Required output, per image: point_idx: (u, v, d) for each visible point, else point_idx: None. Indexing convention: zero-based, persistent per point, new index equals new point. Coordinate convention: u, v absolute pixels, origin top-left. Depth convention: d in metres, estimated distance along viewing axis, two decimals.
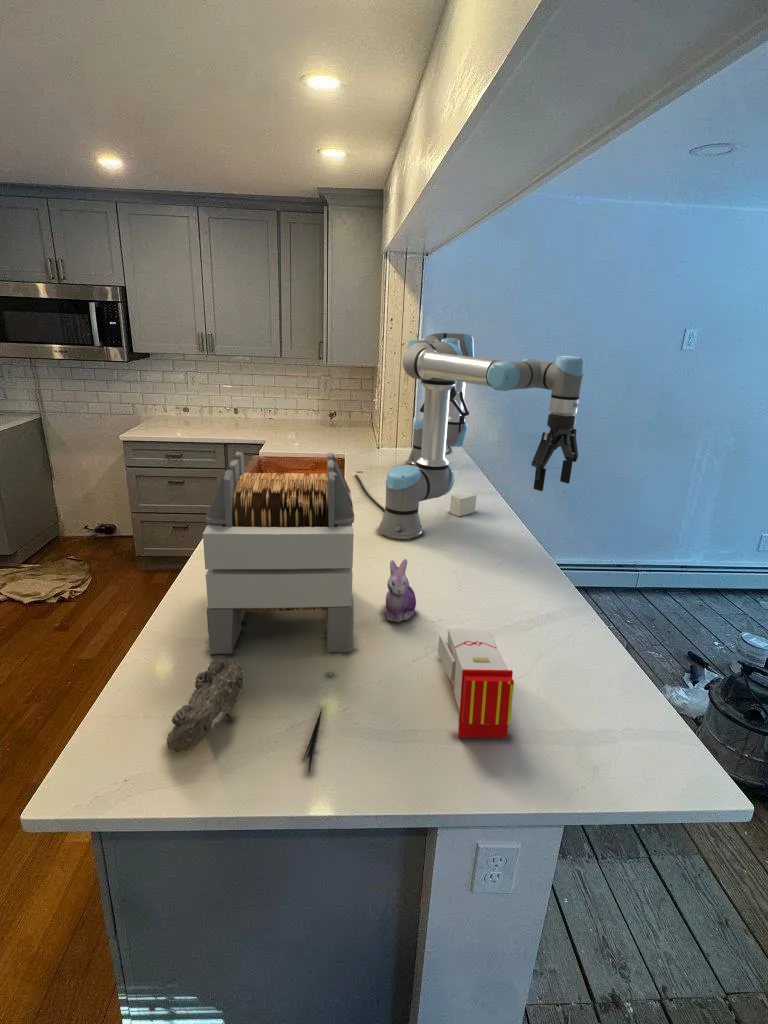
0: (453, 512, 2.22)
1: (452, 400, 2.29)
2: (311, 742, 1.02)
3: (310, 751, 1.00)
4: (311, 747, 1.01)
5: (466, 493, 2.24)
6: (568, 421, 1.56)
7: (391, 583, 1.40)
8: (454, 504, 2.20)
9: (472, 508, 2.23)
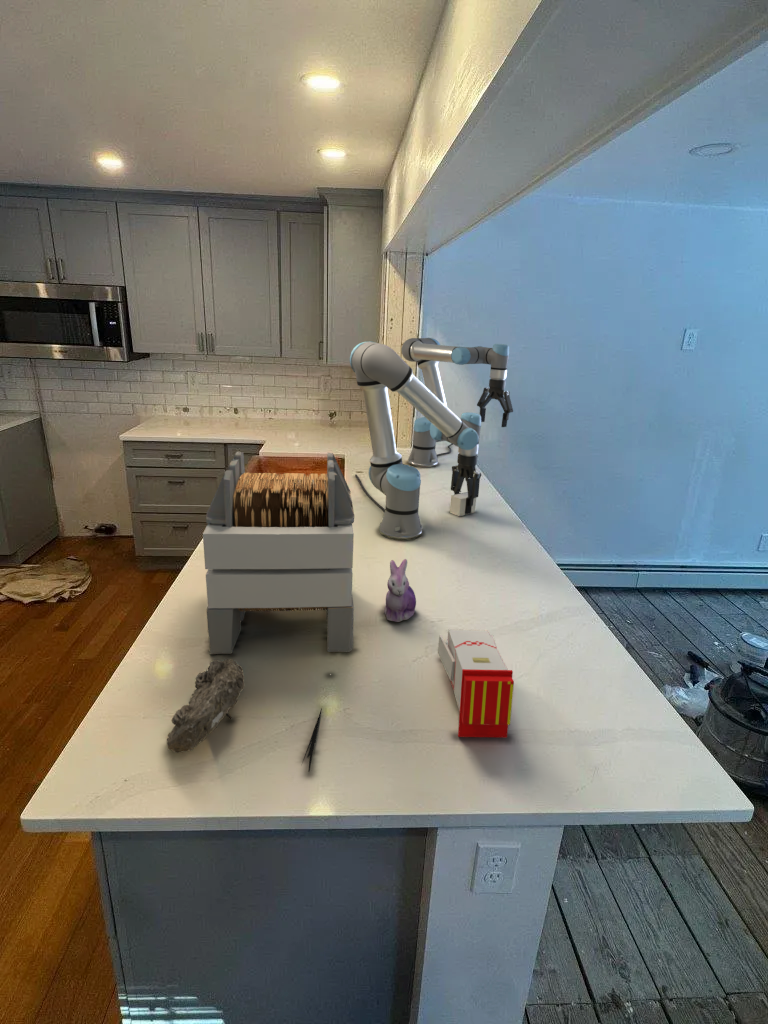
0: (453, 512, 2.22)
1: None
2: (311, 742, 1.02)
3: (310, 751, 1.00)
4: (311, 747, 1.01)
5: (466, 493, 2.24)
6: None
7: (391, 583, 1.40)
8: (454, 504, 2.20)
9: (472, 508, 2.23)
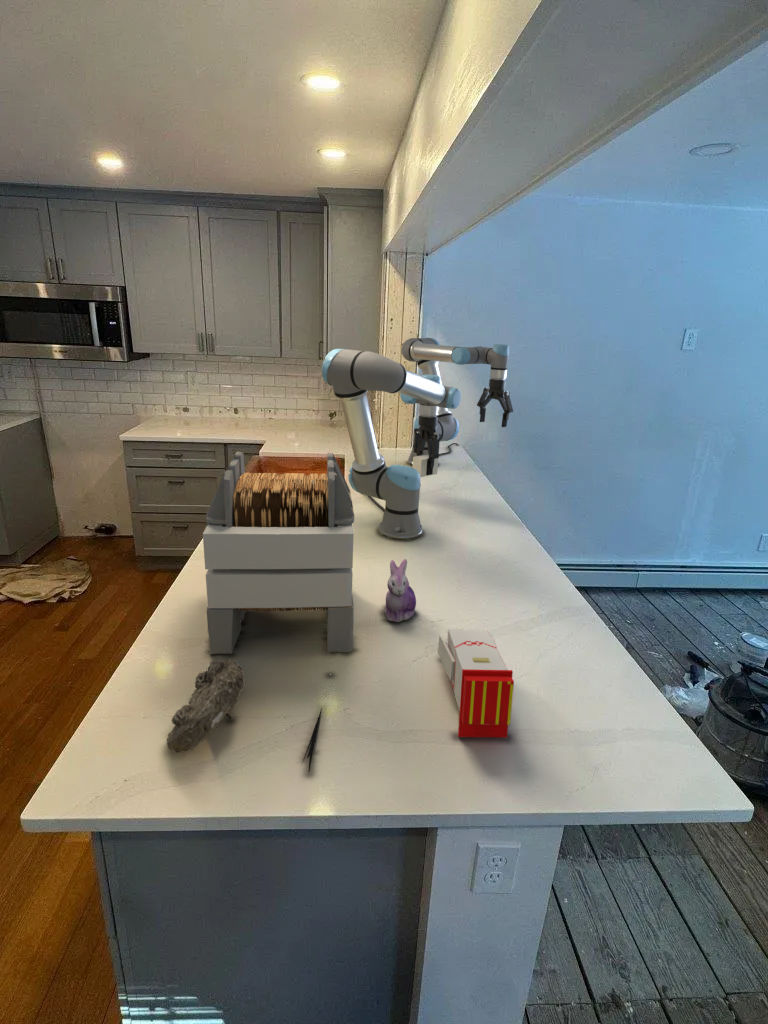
0: None
1: None
2: (311, 742, 1.02)
3: (310, 751, 1.00)
4: (311, 747, 1.01)
5: (428, 455, 2.29)
6: None
7: (391, 583, 1.40)
8: (415, 465, 2.26)
9: (434, 470, 2.29)
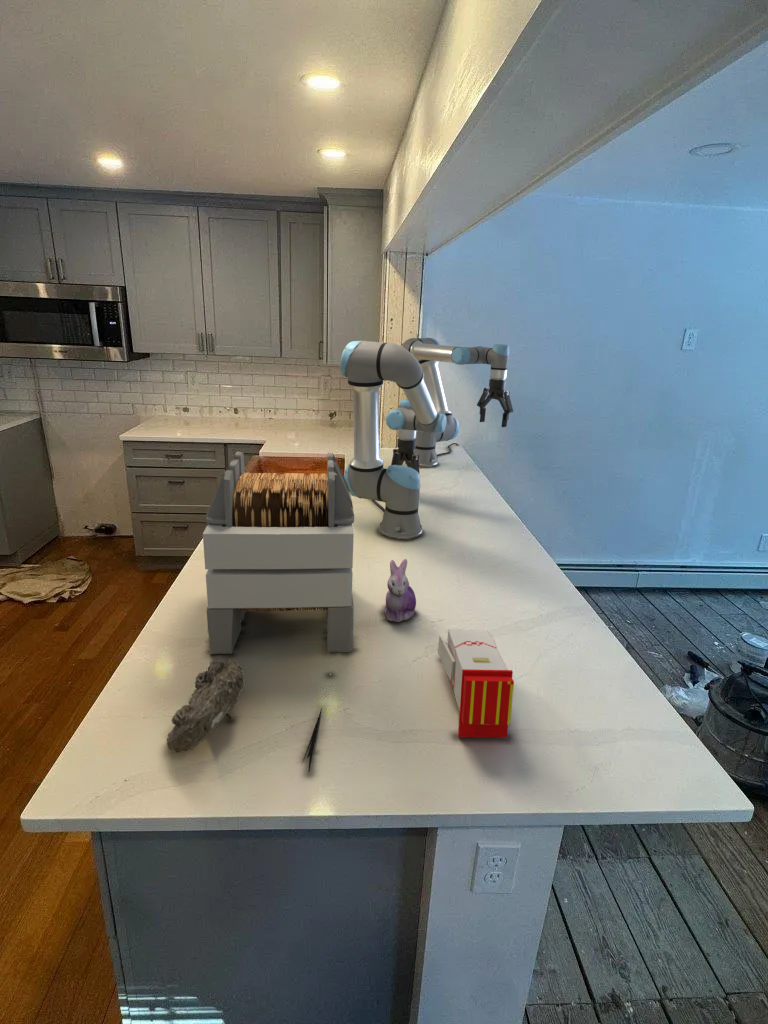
0: None
1: None
2: (311, 742, 1.02)
3: (310, 751, 1.00)
4: (311, 747, 1.01)
5: None
6: None
7: (391, 583, 1.40)
8: None
9: None
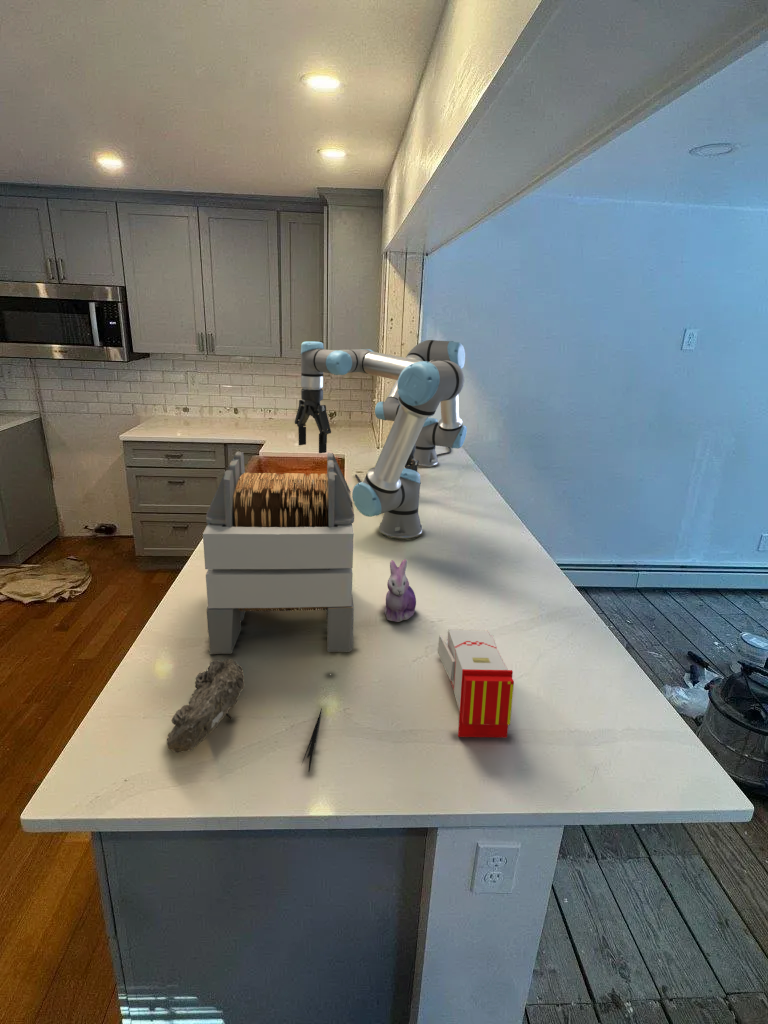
0: None
1: None
2: (311, 742, 1.02)
3: (310, 751, 1.00)
4: (311, 747, 1.01)
5: None
6: None
7: (391, 583, 1.40)
8: None
9: None
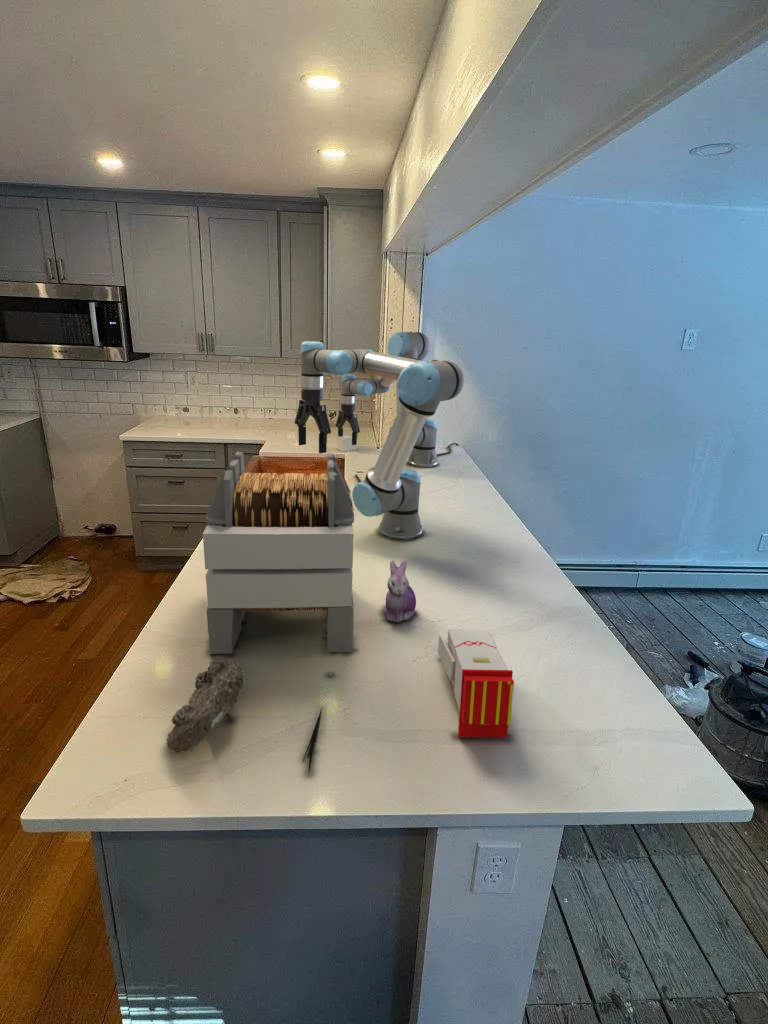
0: (339, 449, 3.12)
1: None
2: (311, 742, 1.02)
3: (310, 751, 1.00)
4: (311, 747, 1.01)
5: (349, 436, 3.14)
6: None
7: (391, 583, 1.40)
8: (339, 442, 3.10)
9: (353, 446, 3.13)
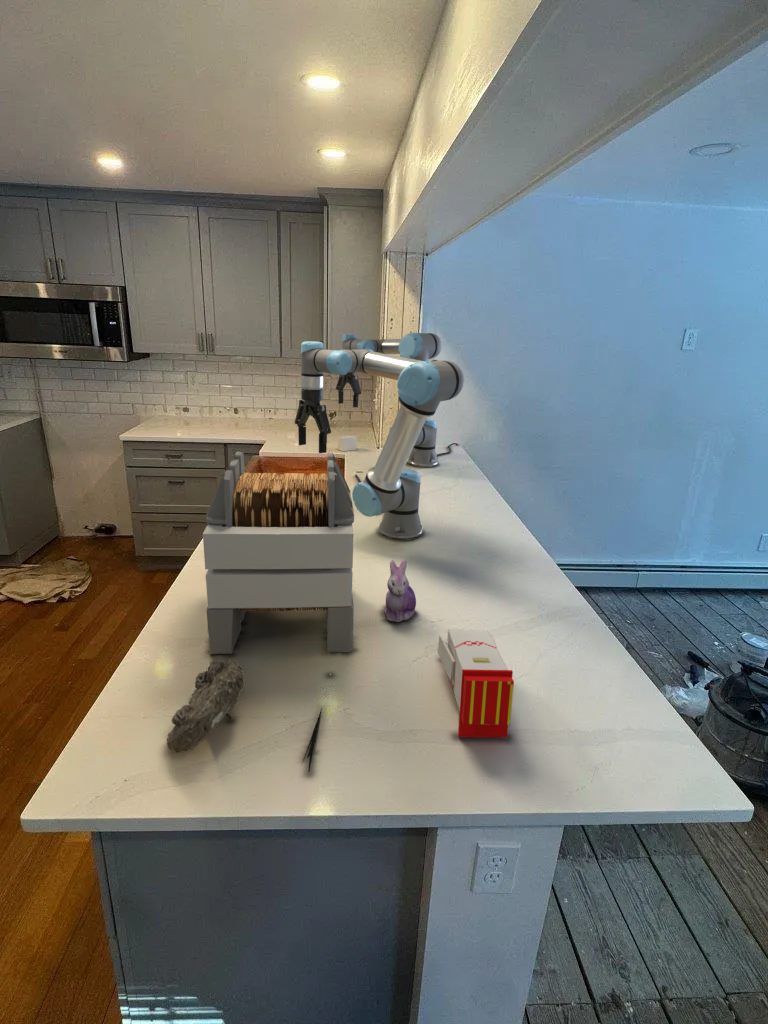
0: (339, 449, 3.12)
1: None
2: (311, 742, 1.02)
3: (310, 751, 1.00)
4: (311, 747, 1.01)
5: (349, 436, 3.14)
6: None
7: (391, 583, 1.40)
8: (339, 442, 3.10)
9: (353, 446, 3.13)
